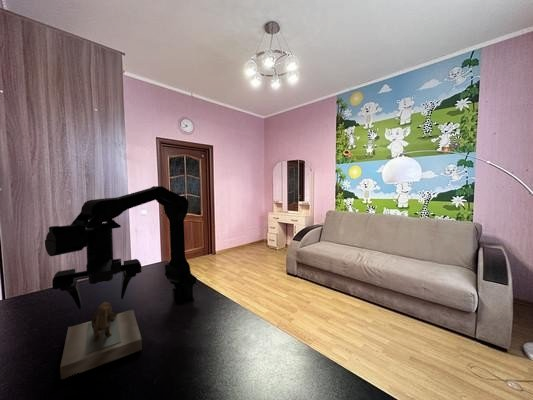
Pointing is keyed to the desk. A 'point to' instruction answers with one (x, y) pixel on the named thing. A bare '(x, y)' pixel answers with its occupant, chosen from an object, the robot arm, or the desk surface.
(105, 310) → the lion figurine
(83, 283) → the desk surface
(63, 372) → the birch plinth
